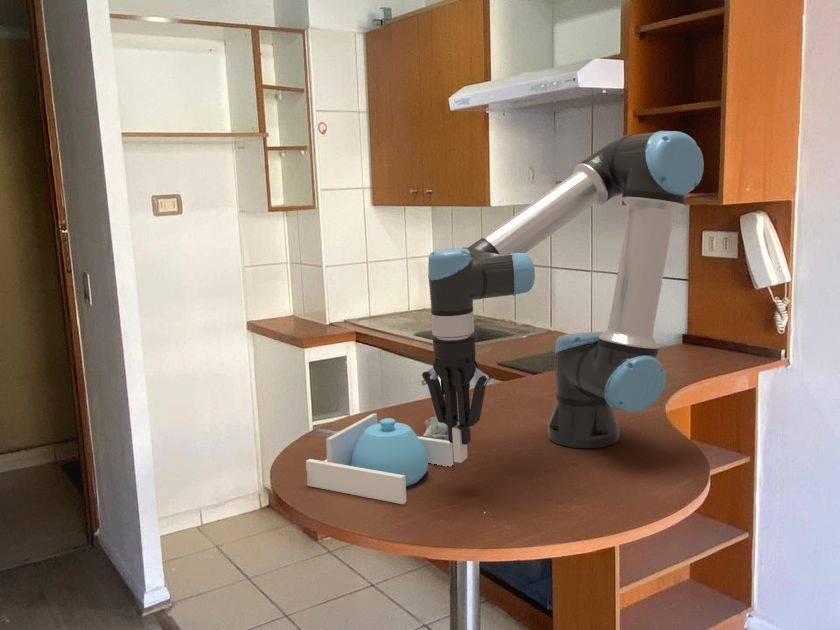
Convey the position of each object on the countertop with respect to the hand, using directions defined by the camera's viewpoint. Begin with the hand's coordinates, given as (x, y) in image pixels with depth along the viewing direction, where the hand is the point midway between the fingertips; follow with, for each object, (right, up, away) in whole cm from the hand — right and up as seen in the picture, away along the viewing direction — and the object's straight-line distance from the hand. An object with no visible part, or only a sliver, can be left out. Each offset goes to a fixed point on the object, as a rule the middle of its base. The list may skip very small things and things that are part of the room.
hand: (460, 459), depth 143 cm
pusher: (-24, -4, +13) cm, 28 cm away
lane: (-15, -5, +9) cm, 18 cm away
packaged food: (-3, -1, +28) cm, 28 cm away
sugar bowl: (-13, -5, +8) cm, 16 cm away
